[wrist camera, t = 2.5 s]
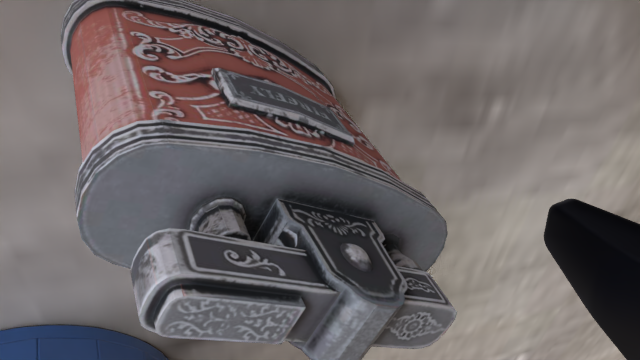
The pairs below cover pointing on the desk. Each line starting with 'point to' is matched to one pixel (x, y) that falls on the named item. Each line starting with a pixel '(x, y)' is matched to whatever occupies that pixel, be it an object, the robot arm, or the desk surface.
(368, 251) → the lighter
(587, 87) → the desk surface
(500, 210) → the desk surface
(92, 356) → the blue round bin
